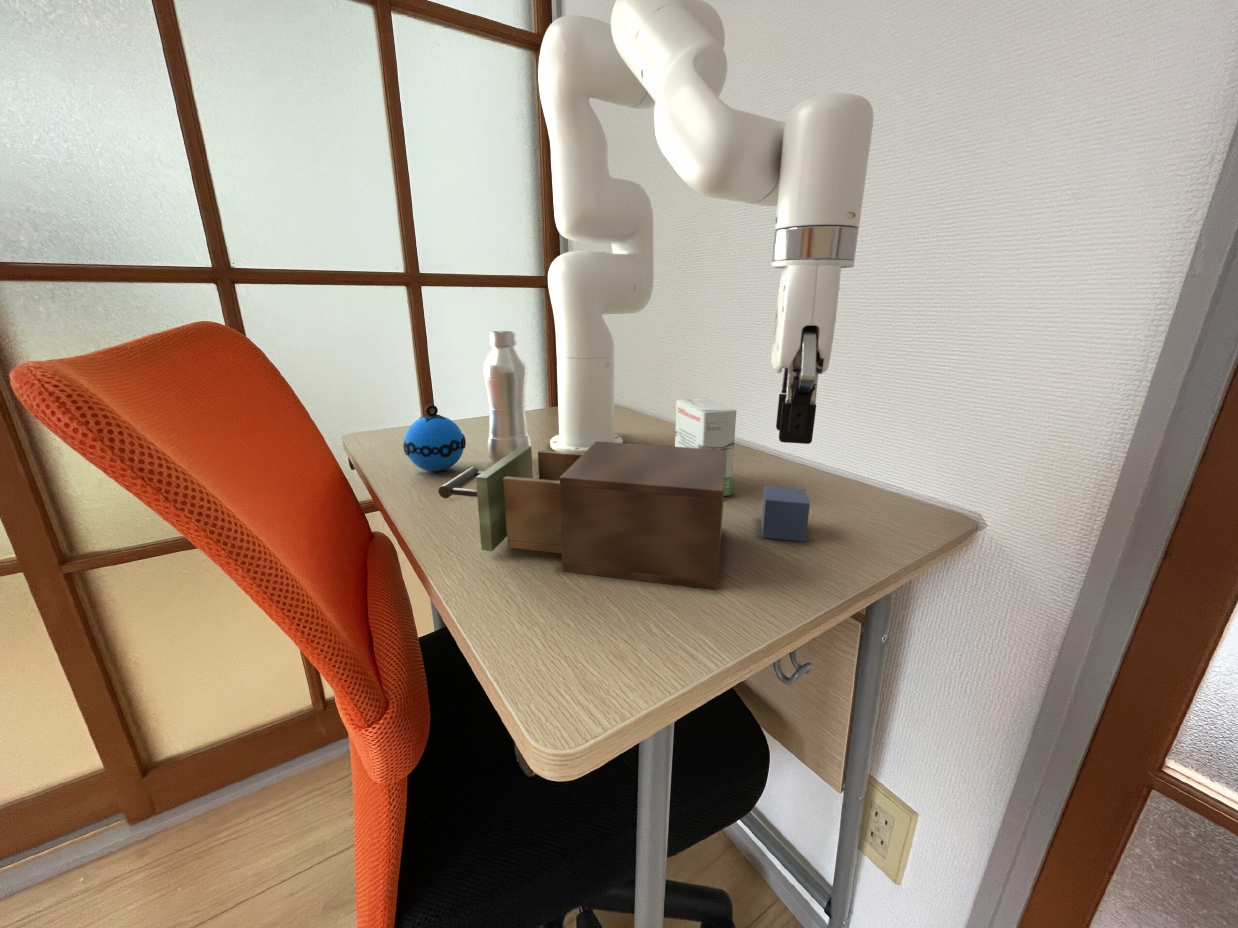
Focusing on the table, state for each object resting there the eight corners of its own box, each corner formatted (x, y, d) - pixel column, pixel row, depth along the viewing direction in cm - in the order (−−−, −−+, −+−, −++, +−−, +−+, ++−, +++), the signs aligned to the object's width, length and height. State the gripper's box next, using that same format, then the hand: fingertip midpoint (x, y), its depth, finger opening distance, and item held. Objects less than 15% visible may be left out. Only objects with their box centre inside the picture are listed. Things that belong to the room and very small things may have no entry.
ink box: (732, 496, 70) (739, 408, 66) (699, 500, 68) (704, 411, 64) (702, 475, 77) (707, 396, 74) (671, 479, 76) (674, 398, 72)
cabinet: (562, 571, 51) (559, 477, 48) (596, 519, 62) (595, 441, 59) (715, 590, 48) (723, 490, 45) (721, 531, 59) (727, 450, 56)
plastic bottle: (480, 463, 82) (469, 331, 76) (515, 454, 87) (508, 329, 81) (504, 472, 78) (495, 334, 72) (540, 462, 83) (535, 332, 77)
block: (761, 521, 62) (764, 485, 61) (801, 525, 61) (805, 488, 60) (762, 537, 58) (766, 499, 57) (805, 542, 57) (810, 503, 56)
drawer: (430, 544, 54) (421, 472, 52) (481, 503, 65) (476, 441, 62) (612, 565, 50) (612, 488, 48) (635, 518, 61) (636, 453, 58)
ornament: (418, 484, 73) (410, 413, 70) (399, 468, 80) (391, 403, 77) (477, 472, 78) (471, 406, 75) (454, 458, 85) (448, 397, 82)
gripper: (769, 257, 59) (754, 417, 65) (778, 244, 43) (758, 456, 49) (840, 257, 57) (819, 420, 63) (876, 243, 42) (844, 462, 48)
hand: (792, 434), depth 56 cm, fingers open, 4 cm apart
